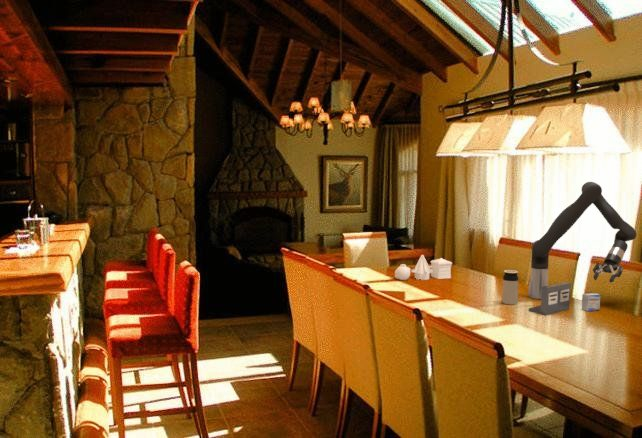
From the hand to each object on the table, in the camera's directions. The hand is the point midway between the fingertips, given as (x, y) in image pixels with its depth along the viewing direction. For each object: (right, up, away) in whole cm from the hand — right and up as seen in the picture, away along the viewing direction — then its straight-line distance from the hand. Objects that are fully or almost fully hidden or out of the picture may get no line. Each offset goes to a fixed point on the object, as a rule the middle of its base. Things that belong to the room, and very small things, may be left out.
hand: (602, 280), depth 317 cm
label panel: (-30, -15, -5) cm, 34 cm away
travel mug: (-47, -14, +10) cm, 50 cm away
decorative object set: (-83, -7, +82) cm, 117 cm away
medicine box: (-8, -16, -4) cm, 18 cm away
